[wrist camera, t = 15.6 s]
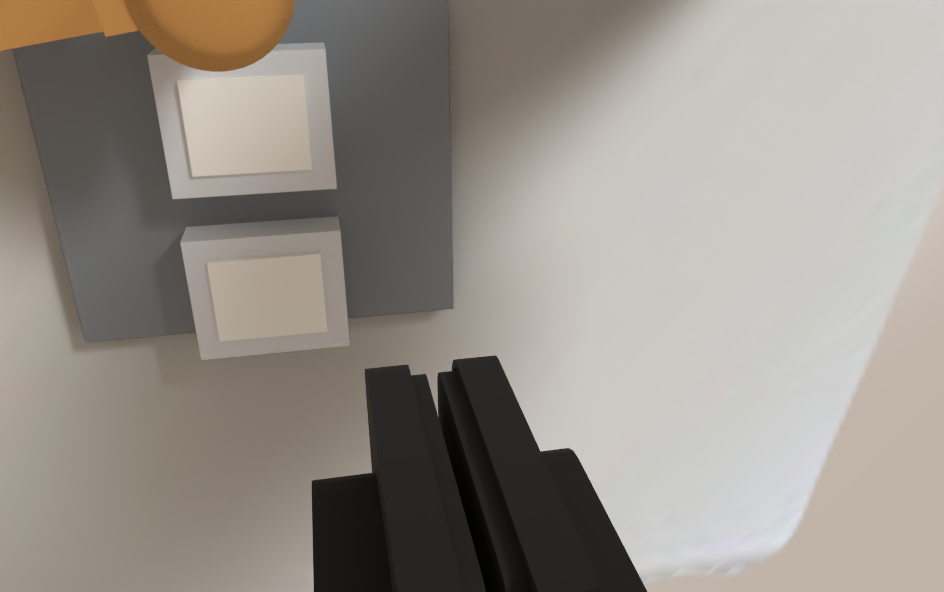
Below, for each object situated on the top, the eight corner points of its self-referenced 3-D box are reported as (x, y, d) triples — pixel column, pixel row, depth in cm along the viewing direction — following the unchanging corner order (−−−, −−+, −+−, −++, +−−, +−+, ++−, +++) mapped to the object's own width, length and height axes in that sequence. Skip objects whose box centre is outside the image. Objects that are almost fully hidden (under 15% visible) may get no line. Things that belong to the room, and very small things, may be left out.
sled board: (442, -73, 34) (483, -71, 27) (450, 308, 42) (482, 392, 35) (-7, -70, 31) (-106, -67, 24) (92, 341, 39) (43, 442, 32)
